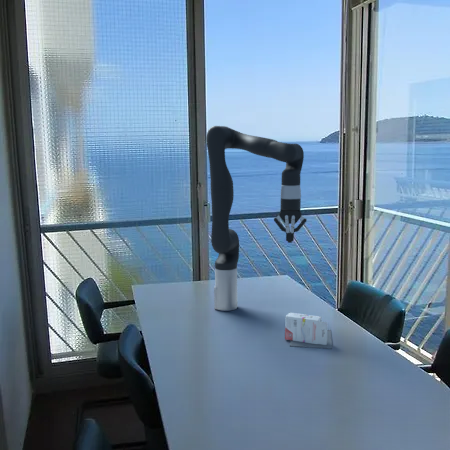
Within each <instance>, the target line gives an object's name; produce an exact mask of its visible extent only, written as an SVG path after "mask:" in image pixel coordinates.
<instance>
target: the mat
mask: <svg viewBox="0 0 450 450" xmlns="http://www.w3.org/2000/svg"><path fill="white" fill-rule="evenodd" d="M324 334H325V333H324V329H322V337H324ZM289 347H295V348H296V347H297V348H311V349H329V350H332V349H333V339H332V330H331V329H327V345H322V344H311V343H305V342H299V341H293V340H289Z"/></svg>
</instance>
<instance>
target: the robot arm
mask: <svg viewBox="0 0 450 450" xmlns="http://www.w3.org/2000/svg"><path fill="white" fill-rule="evenodd" d="M206 147H207V153H208V163H209V175H210V176H209V177H210V199H211V200H210V201H211V236H210V237H211V238H210V239H211V241H210V242H211V246H212V250H214V251H215V252H216V253H217V254H218V256H217V258H216V260H215V261H214V287H213V293H214V298H213V299H214V300H213V301H214V303H213V304H214V310H218V311H222V312H224V311H225V312H227V311H235V310H237V308H238V262H239V257H240V255H239V254H240V239H239V234H238V233H237V232H236V231H235V230H234V229H232V228H229V227H230V226H229V224H230V223H229V219H230V215H231V214H230V213H231V211H232V210H231V209H232V208H233V207H232V206H233V203H234V196H235V195H234V182H233V177H232V175H231V172H230V170H229V168H228V166H227V162H226V150H227V149H232V150H233V149H237V150H242V151H243V150H244V151H246V152H249V153H252V154H254V155H255V156H261V157H264V158H267V159H273V160H276V161H279V162H283V163H285V168H284V169H283V171H281V183H280V184H281V185H280V211H279V213H278V215H277V216H275V217H274V218H273V221H274V222H275V224H276V225H277V226H278V228H279V230H281V231H282V232H284V233H285V241H286V242H287V243H288V244H289V243H291V244H292V242H294V240H295V238H294V237H295V236H294V235H295V233H297V232H298V233H299V231H300V230H301V228H303V226H304V225H305V224H306V223H307V221H308V219H307V218H306V217H304V216H303V213H302V210H301V205H302V204H301V202H302V201H301V198H302V190H301V173H302V168H303V164H304V158H305V157H304V156H305V155H304V149H303V147H302V145H300V143H299V144H298V143H286V142H282V141H281V142H280V141H278V140H276V139H272V138H269V137H268V138H267V137H263V136H257V135H250V134H246V133H243V132H240V131H237V130H235V129H233V128H231V127H228V126H225V125H213V126H211V127H210V128H209V129H208V130H207V132H206ZM281 221H282V222H283V223H284V224H283V223H282V222H281ZM298 221H299V222H300V223H299V224H298V225H297V226H296V227H295V225H296V224H297V223H298ZM284 225H285V226H284Z"/></svg>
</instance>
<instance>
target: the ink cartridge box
mask: <svg viewBox="0 0 450 450" xmlns="http://www.w3.org/2000/svg"><path fill="white" fill-rule="evenodd" d="M322 320H323V319H322V316H319V315H313V314H305V313H304V314H303V313H298V312H297V313H296V312H288V313H287V314H286V315H285V319H284V321H285V322H284V324H285V325H284V331H285V332H284V339H285V340H286V341H287V340H288V341H290V340H293V341H299V342H305V343H311V344H322V345H327V330H328V325H329V323H328V322H327V321H322ZM322 330H324V333H325V334H324V337H322Z"/></svg>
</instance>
